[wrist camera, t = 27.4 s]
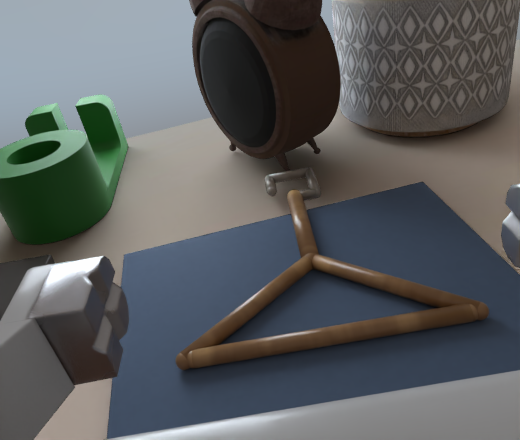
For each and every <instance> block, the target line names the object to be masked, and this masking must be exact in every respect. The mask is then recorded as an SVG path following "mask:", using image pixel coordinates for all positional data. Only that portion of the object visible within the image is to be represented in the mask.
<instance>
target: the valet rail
mask: <svg viewBox="0 0 520 440" xmlns="http://www.w3.org/2000/svg"><path fill="white" fill-rule="evenodd" d="M49 264H55V262H54V260H53V258H52V256H51V255H45V256H39V257H34V258H28V259H22V260H17V261H11V262H6V263H0V321H1V319H2V317H3V315H4V313H5V311H6V309H7V307H8V306H9V304H10V302H11V300H12V298H13V296H14V294H15V292H16V291H17V289H18V287H19V285H20V283H21V281H22V279H23V277H24V276H25V274H26V272H27V270H29V269H31V268H33V267H38V266H44V265H49Z"/></svg>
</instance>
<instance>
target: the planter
mask: <svg viewBox="0 0 520 440" xmlns="http://www.w3.org/2000/svg"><path fill="white" fill-rule="evenodd" d="M332 9H333V24H334V36H335V49H336V53H337V57H338V62H339V68H340V80H341V88H340V99H339V104H340V110H341V112H342V114H343V115H344V116H345V117H346V118H348V119H349V120H350V121H352V122H354V123H356V124H359V125H361V126H364V127H366V128H368V129H370V130H372V131H375V132H378V133H382V134H387V135H393V136H404V137H423V136H434V135H441V134H447V133H451V132H455V131H459V130H462V129H465V128H467V127H470V126H472V125H474V124H476V123H477V122H479V121H482V120H484V119H486V118H489V117H490V116H492V115H494V114H496V113H497V112H499V111H500V110H501V109H502V108H503V107H504V106H505V105H506V103H507V101H508V97H509V90H510V82H511V74H512V67H513V59H514V51H515V43H516V35H517V27H518V19H519V11H520V0H332Z"/></svg>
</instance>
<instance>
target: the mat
mask: <svg viewBox="0 0 520 440" xmlns="http://www.w3.org/2000/svg"><path fill="white" fill-rule="evenodd" d="M307 214H308V217H309V221H310V225H311V228H312V232H313V235H314V239H315V242H316V246H317V249H318V253H319V255H322V256H326V257H329V258H332V259H336V260H339V261H343V262H346V263H350V264H353V265H357V266H360V267H363V268H367V269H370V270H374V271H377V272H381V273H384V274H387V275H391V276H394V277H398V278H401V279H405V280H408V281H412V282H415V283H418V284H422V285H425V286H429V287H432V288H436V289H439V290H442V291H446V292H449V293H453V294H456V295H460V296H463V297H466V298H470V299H473V300H477V301H480V302H483V303H485V304H486V305H487V306H488V308H489V315H488V317H487V318H486V319H484V320H476V321H474V322H469V323H463V324H457V325H451V326H445V327H439V328H433V329H427V330H421V331H415V332H409V333H403V334H397V335H391V336H385V337H379V338H373V339H367V340H361V341H355V342H350V343H344V344H338V345H332V346H326V347H320V348H314V349H308V350H302V351H296V352H290V353H284V354H278V355H272V356H266V357H260V358H254V359H248V360H242V361H236V362H230V363H224V364H218V365H212V366H206V367H200V368H194V369H193V368H189V369H187V370H181V369H179V368H178V367H177V365H176V362H175V360H176V356H177V355H178V354H179V353H180V352H181V351H182V350H184V349H185V348H186V347H188V346H189V345H190V344H191V343H193V342H194V341H195V340H197V339H198V338H199V337H200V336H202V335H203V334H204V333H206V332H207V331H208V330H209V329H211V328H212V327H213V326H215V325H216V324H217V323H218V322H220V321H221V320H222V319H224V318H225V317H226V316H227V315H229V314H230V313H231V312H233V311H234V310H235V309H236V308H238V307H239V306H240V305H242V304H243V303H244V302H245V301H247V300H248V299H249V298H251V297H252V296H253V295H254V294H256V293H257V292H258V291H260V290H261V289H262V288H263V287H265V286H266V285H267V284H269V283H270V282H271V281H272V280H274V279H275V278H276V277H277V276H279V275H280V274H281V273H283V272H284V271H285V270H286V269H288V268H289V267H290V266H292V265H293V264H294V263H295V262H297V261H298V260H299V259H301V256H300V251H299V247H298V243H297V238H296V234H295V230H294V225H293V221H292V217H291V214H288V215H284V216H280V217H276V218H272V219H268V220H264V221H260V222H256V223H252V224H248V225H243V226H239V227H235V228H231V229H227V230H223V231H219V232H215V233H211V234H207V235H203V236H199V237H194V238H190V239H186V240H182V241H178V242H174V243H170V244H166V245H162V246H158V247H154V248H150V249H146V250H141V251H137V252H133V253H129V254H125V255H124V262H123V273H122V283H121V288H122V289H123V292H124V294H125V296H126V300H127V304H128V310H129V324H128V329H127V333H126V334H125V335H124V336H123V337H122V338H121V339H120V340H119V341H120V344H121V346H122V348H123V353H122V358H121V362H120V367H119V372H118V376H117V377H113V379H112V390H111V401H110V411H109V422H108V433H107V439H111V438H117V437H123V436H129V435H135V434H140V433H146V432H152V431H158V430H164V429H170V428H176V427H182V426H188V425H194V424H200V423H206V422H212V421H218V420H224V419H230V418H236V417H242V416H248V415H254V414H260V413H266V412H272V411H278V410H284V409H290V408H296V407H302V406H308V405H314V404H320V403H325V402H331V401H337V400H343V399H349V398H355V397H361V396H367V395H373V394H379V393H385V392H391V391H397V390H403V389H409V388H415V387H421V386H427V385H433V384H439V383H445V382H451V381H457V380H463V379H469V378H475V377H481V376H487V375H493V374H499V373H505V372H511V371H517V370H520V275H519V274H518V273H517V272H516V271H515V270H514V269H513V268H512V267H511V266H510V265H509V264H508V263H507V262H506V261H505V260H504V259H503V258H502V257H501V256H500V255H498V254H497V253H496V252H495V251H494V250H493V249H492V248H491V247H490V246H489V245H488V244H487V243H486V242H485V241H484V240H483V239H482V238H481V237H480V236H479V235H478V234H477V233H476V232H475V231H474V230H472V229H471V228H470V227H469V226H468V225H467V224H466V223H465V222H464V221H463V220H462V219H461V218H460V217H459V216H458V215H457V214H456V213H455V212H454V211H453V210H452V209H451V208H450V207H449V206H447V205H446V204H445V203H444V202H443V201H442V200H441V199H440V198H439V197H438V196H437V195H436V194H435V193H434V192H433V191H432V190H431V189H430V188H429V187H428V186H427V185H426V184H425V183H424V182H419V183H415V184H411V185H407V186H403V187H398V188H394V189H390V190H386V191H382V192H378V193H374V194H370V195H366V196H362V197H358V198H354V199H350V200H345V201H341V202H337V203H333V204H329V205H325V206H321V207H317V208H313V209H309V210H307ZM435 308H436V307H433V306H430V305H427V304H424V303H420V302H417V301H414V300H411V299H408V298H404V297H401V296H398V295H395V294H392V293H388V292H385V291H382V290H379V289H376V288H372V287H369V286H366V285H363V284H360V283H356V282H353V281H350V280H347V279H344V278H340V277H337V276H334V275H331V274H328V273H324V272H321V271H318V270H315V269H312V270H311V271H309V272H308V273H307V274H306V275H304V276H303V277H302V278H301V279H299V280H298V281H297V282H296V283H295V284H293V285H292V286H291V287H290V288H288V289H287V290H286V291H285V292H283V293H282V294H281V295H280V296H278V297H277V298H276V299H275V300H274V301H272V302H271V303H270V304H269V305H267V306H266V307H265V308H264V309H262V310H261V311H260V312H259V313H257V314H256V315H255V316H254V317H253V318H251V319H250V320H249V321H248V322H246V323H245V324H244V325H243V326H241V327H240V328H239V329H238V330H236V331H235V332H234V333H233V334H232V335H230V336H229V337H228V338H227V339H225V340H224V341H223V342H222V343H220V344H219V345H222V344H228V343H234V342H240V341H246V340H252V339H258V338H264V337H270V336H276V335H281V334H287V333H293V332H299V331H305V330H311V329H317V328H323V327H329V326H335V325H341V324H346V323H352V322H358V321H364V320H370V319H376V318H382V317H388V316H394V315H400V314H406V313H412V312H417V311H423V310H429V309H435Z"/></svg>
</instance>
